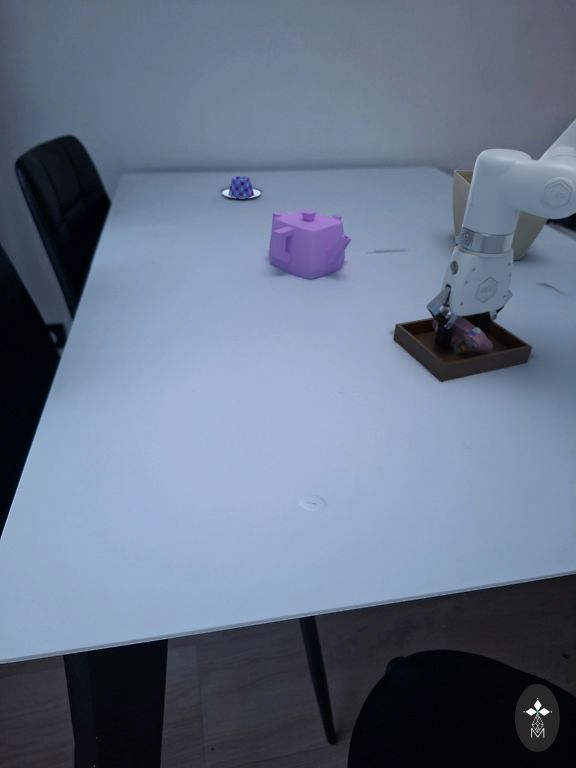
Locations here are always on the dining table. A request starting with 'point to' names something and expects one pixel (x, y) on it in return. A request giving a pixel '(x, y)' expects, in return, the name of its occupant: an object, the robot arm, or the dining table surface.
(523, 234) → the flower pot
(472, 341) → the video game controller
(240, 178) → the pudding
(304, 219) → the teakettle
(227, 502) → the dining table surface
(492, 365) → the tray
